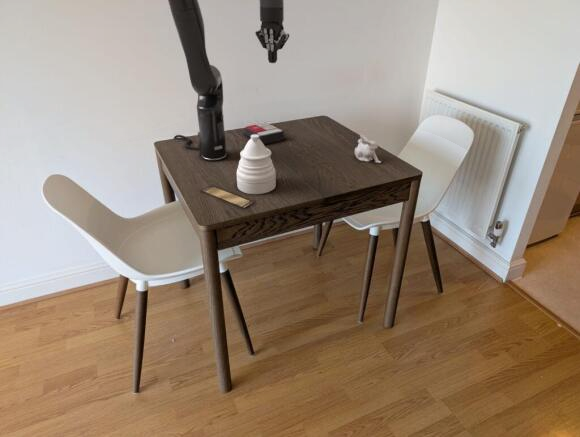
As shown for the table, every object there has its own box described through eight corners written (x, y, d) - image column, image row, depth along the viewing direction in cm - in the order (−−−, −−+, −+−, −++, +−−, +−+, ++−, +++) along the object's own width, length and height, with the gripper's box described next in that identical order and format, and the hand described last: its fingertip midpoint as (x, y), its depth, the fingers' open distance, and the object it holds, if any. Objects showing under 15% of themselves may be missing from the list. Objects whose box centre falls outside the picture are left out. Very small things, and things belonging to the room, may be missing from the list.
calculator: (266, 121, 187) (284, 129, 176) (266, 131, 189) (284, 139, 178) (243, 125, 182) (260, 134, 171) (244, 135, 184) (261, 144, 173)
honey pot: (278, 192, 138) (277, 139, 129) (238, 195, 136) (234, 142, 127) (273, 175, 149) (272, 125, 139) (236, 178, 147) (232, 127, 138)
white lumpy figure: (382, 162, 158) (385, 138, 153) (366, 167, 155) (369, 142, 150) (361, 152, 167) (363, 128, 162) (345, 156, 163) (347, 132, 158)
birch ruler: (203, 191, 139) (203, 190, 138) (212, 186, 141) (212, 186, 141) (244, 208, 129) (244, 207, 129) (253, 203, 132) (252, 202, 132)
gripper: (247, 4, 135) (250, 62, 144) (280, 7, 128) (281, 67, 137) (263, 3, 140) (264, 58, 149) (295, 5, 133) (295, 63, 142)
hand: (272, 62), depth 143 cm, fingers closed
